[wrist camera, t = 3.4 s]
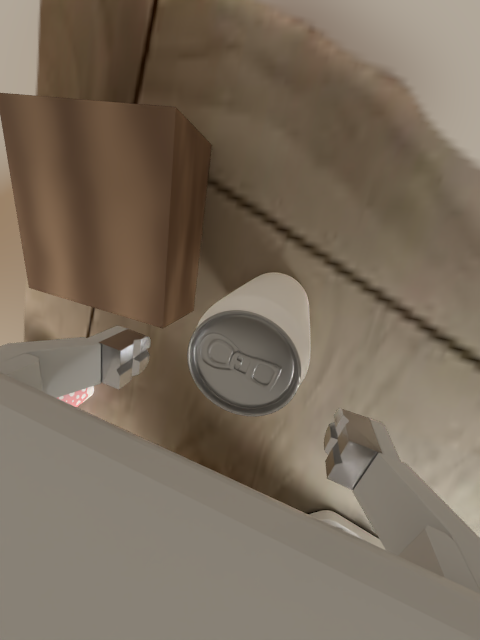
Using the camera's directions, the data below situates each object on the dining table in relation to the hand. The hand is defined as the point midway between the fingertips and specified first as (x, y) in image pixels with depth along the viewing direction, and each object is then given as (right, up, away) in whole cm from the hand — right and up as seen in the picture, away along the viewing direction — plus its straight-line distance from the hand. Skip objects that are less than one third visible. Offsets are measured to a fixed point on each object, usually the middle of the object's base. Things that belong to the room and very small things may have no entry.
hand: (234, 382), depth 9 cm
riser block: (-10, +13, +14) cm, 22 cm away
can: (+4, +4, +12) cm, 14 cm away
